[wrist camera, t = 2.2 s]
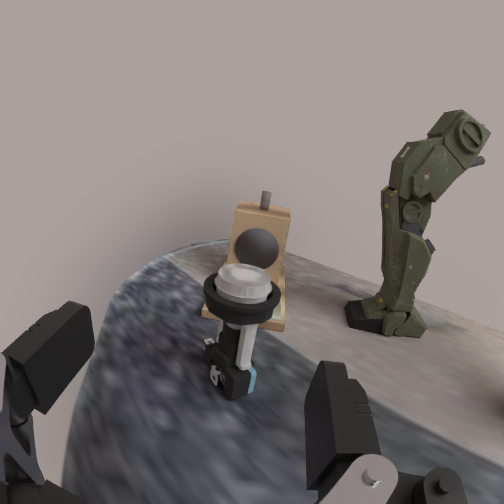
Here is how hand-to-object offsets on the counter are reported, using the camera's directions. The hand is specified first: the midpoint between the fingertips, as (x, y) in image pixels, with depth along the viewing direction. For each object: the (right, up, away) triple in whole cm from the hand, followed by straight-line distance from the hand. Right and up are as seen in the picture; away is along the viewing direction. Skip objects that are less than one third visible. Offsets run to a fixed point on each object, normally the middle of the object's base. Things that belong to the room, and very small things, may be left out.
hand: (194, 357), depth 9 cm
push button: (0, -7, +15) cm, 17 cm away
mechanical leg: (+20, -6, +26) cm, 34 cm away
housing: (+2, -2, +30) cm, 30 cm away
